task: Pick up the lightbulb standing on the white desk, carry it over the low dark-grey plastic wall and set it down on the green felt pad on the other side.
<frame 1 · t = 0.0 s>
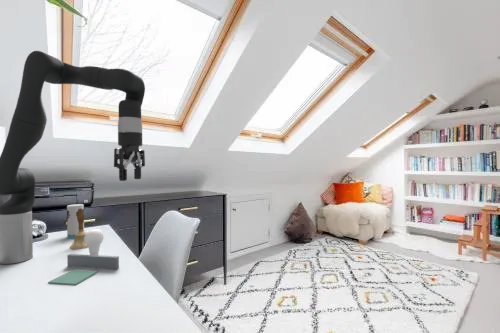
hand: (130, 179, 91), 29 cm above the table, tool pointing down, fingers open, 8 cm apart
wall: (93, 267, 90), on the table
hand bell: (81, 246, 114), on the table
lightbulb: (94, 260, 98), on the table
pad: (74, 277, 82), on the table
cup: (75, 236, 129), on the table
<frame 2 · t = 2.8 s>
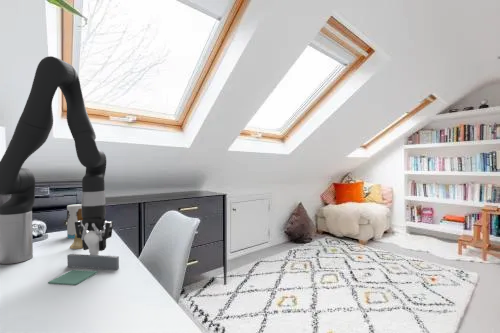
hand: (94, 249, 97), 4 cm above the table, tool pointing down, fingers closed on lightbulb, 5 cm apart
lightbulb: (94, 260, 98), on the table, touching gripper
everything else where it was.
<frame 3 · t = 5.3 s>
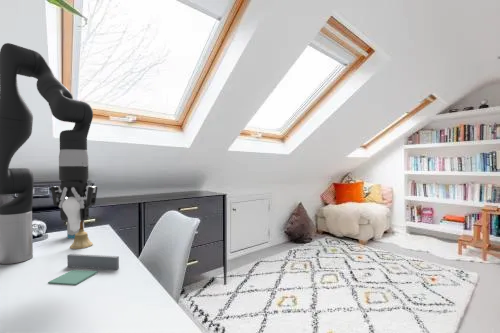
hand: (74, 219, 82), 18 cm above the table, tool pointing down, fingers closed on lightbulb, 5 cm apart
lightbulb: (74, 232, 82), point 14 cm above the table, touching gripper
everything else where it was.
when the fingers open (5 cm above the table, at t = 7.8 s): lightbulb moves 1 cm, resting on pad.
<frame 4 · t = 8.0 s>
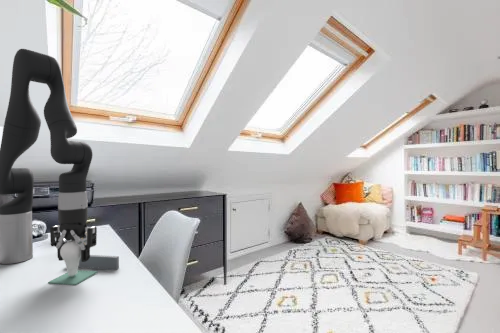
hand: (73, 260, 82), 5 cm above the table, tool pointing down, fingers open, 7 cm apart
lightbulb: (72, 277, 82), resting on pad
everything else where it was.
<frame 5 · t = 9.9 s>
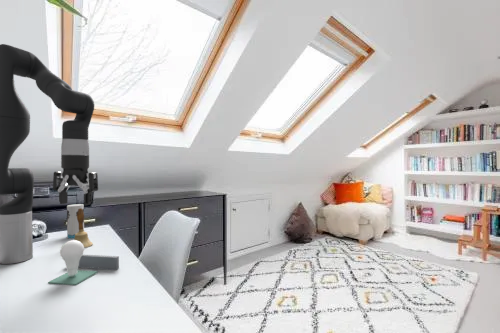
hand: (75, 204, 86), 22 cm above the table, tool pointing down, fingers open, 8 cm apart
nothing on the table moved.
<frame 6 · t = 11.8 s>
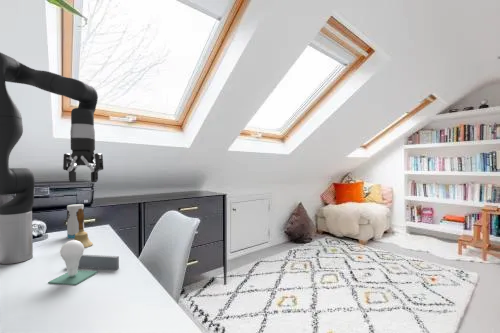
hand: (83, 182, 98), 28 cm above the table, tool pointing down, fingers open, 8 cm apart
nothing on the table moved.
at the end: lightbulb inside the target area on the pad (0.5 cm from its centre), point 0.2 cm above the pad's base; the gripper is holding nothing; lightbulb touching pad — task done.
